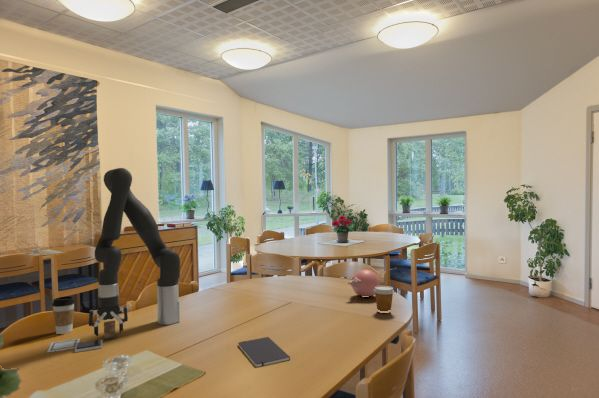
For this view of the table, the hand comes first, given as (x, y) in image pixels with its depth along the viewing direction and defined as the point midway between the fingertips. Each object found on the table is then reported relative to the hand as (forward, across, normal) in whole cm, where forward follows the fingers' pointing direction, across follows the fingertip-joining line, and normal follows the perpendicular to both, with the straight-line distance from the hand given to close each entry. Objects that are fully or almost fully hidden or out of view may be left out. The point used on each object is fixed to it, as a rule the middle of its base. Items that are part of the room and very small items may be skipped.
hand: (108, 333), depth 158 cm
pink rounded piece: (+1, -126, -4) cm, 126 cm away
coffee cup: (+2, +18, -16) cm, 24 cm away
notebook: (+2, -53, +41) cm, 67 cm away
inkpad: (+2, +7, +7) cm, 10 cm away
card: (+2, +16, +1) cm, 16 cm away
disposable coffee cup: (+1, -122, +22) cm, 124 cm away
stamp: (+2, 0, 0) cm, 2 cm away
